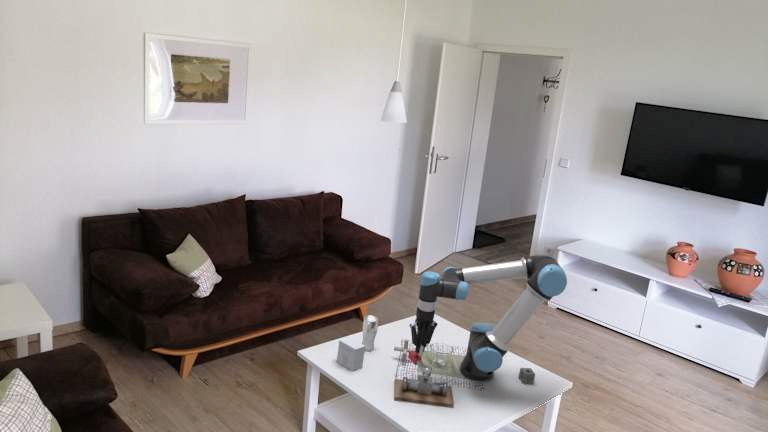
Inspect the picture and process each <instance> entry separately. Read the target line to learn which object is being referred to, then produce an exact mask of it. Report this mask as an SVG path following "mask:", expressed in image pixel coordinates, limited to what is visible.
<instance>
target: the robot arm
mask: <svg viewBox="0 0 768 432" xmlns="http://www.w3.org/2000/svg"><path fill="white" fill-rule="evenodd" d="M516 279H524V280H525V281H526V280H527V281H526V289H524V291H523V292H522V293H521V295H519V297H518V298H517V300H516V301H515V302H514V303H513V304H512V305H511V307H510V308H509V310H507V312H506V313H505V314H504V316H503V317H502V318H501V319H500V321H499V322H498V323H497V325H496V326H494V325H492V324H489V323H487V322H486V323H484V322H476V323H472V325H471V328H470V332H469V338H468V344H467V349H466V354H465V356H464V357H463V359H462V361H461V363H460V366H459V371H460V373H461V375H463V376H465V377H466V378H468V379H470V380H474V381H477V382H478V381H479V382H486V381H487V382H488V381H491V379H493V378H494V373H495V372H496V371H498V370H499V369H500V368H501V367H502V365H503V361H504V360H503V357H504V356H505V355H506V354H507V353H508V351H510V347H509V344H510V343H511V342H512V341H513V340H514V338H515V337H516V336H517V335H518V333H519V332H520V331H521V330H522V328H523V327H524V326H525V325H526V324H527V323H528V322H529V320H530V319H531V318H532V317H533V315H534V314H535V313H536V311H537V310H538V309H539V308H541V305H542V304H543V303H544V302H550V301H551V299H552V298H553V297H556V296H557V297H558V296H560V295H561V294H562V293H564V291H565V289H566V288H567V284H568V279H567V275H566V272H565V270H564V269H563V268H562V267H561V265H560V264H559V262H558V261H557V259H555V258H554V257H552V256H550V255H546V254H538V255H529V256H523V257H521V258H520V259H517V260H511V261H504V262H495V263H491V264H484V265H482V264H481V265H476V266H471V267H470V266H469V267H461V268H456V267H454V266H448V267H447V266H446V268H445V269H443V271H442V276H441V275H440V273H438V272H435V271H429V270H428V271H425V272H423V273H422V275H421V280H420V284H419V293H418V300H417V308H416V314H415V317H416V318H415V320H414V322H413V323H410V324H409V328H410V332H411V344H413V345H414V346H415V352H416V353H417V354H418V355H419V356H420V357H421V361H422V360H423V354H424V352H425V351H426V350H425V348H427V346H428V345H430V343H431V340H432V337H433V335H434V332H435V329H436V328H437V326H438V322H436V321H435V320H434V318H435V314H436V313H435V312H436V306H437V300H438V298H444V299H452V300H457V301H458V300H459V301H460V300H461V301H465V300H467V298H468V293H469V286H471V285H476V284H477V285H478V284H485V283H491V282H493V283H494V282H499V281H500V282H501V281H508V280H516ZM422 362H423V361H422Z"/></svg>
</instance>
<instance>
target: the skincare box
mask: <svg viewBox="0 0 768 432" xmlns="http://www.w3.org/2000/svg"><path fill="white" fill-rule="evenodd" d="M364 356H365V346H364V345H362V343H361V342H359V341H357V340H355V339H353V338H351V337H349V336H347V337H344V338H342V339H339V340H338V348H337V357H336V363H338V364H340V365H342V366H343V367H345V368H347V369H348V370H350V371H352V372H354V371H356V370H359V369H362V368H363V365H364V359H365V358H364Z"/></svg>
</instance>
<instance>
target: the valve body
mask: <svg viewBox="0 0 768 432" xmlns="http://www.w3.org/2000/svg"><path fill="white" fill-rule="evenodd" d="M402 380H403V382H402V391H406V390H412V391H417V394H421V395H429V396H431V393H436V394H442V396H446V394H447V385H448V381H447V382H446V381H442V382H435V381H433V376H432V375H431V376H429V377H426V376H423V375H422V374H418V376H417V379H413V378H408V376H403V377H402Z"/></svg>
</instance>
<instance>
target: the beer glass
mask: <svg viewBox="0 0 768 432" xmlns="http://www.w3.org/2000/svg"><path fill="white" fill-rule="evenodd" d="M378 327H379V318H378V317H377V316H374V315H371V314H370V315H365V316H364V318H363V322H362V343H361V344H362V345H364V346H365V351H366V352H372V351H373V350H375V339H376V337H377V333H378V329H379V328H378ZM365 351H364V352H365Z"/></svg>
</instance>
